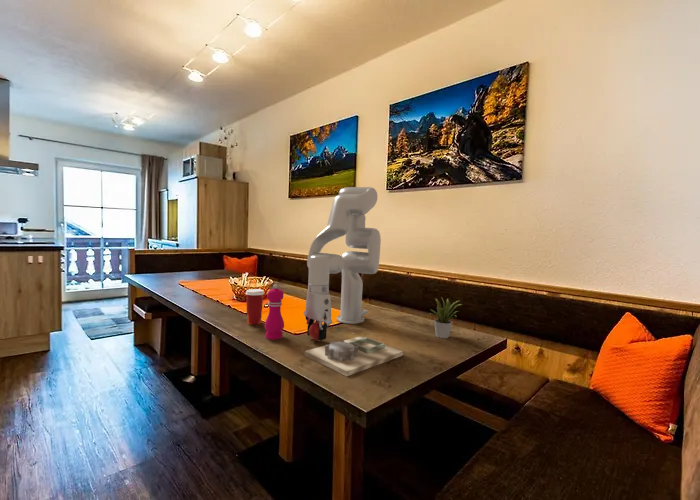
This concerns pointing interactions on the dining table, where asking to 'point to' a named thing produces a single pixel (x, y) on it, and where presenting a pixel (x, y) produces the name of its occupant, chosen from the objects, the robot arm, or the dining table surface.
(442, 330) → the house plant
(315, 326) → the onion
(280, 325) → the pepper mill
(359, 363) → the gear board
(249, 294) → the paper cup
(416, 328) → the dining table surface
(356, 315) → the robot arm
